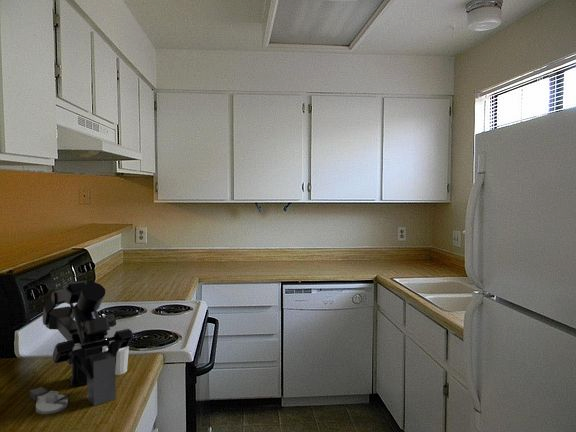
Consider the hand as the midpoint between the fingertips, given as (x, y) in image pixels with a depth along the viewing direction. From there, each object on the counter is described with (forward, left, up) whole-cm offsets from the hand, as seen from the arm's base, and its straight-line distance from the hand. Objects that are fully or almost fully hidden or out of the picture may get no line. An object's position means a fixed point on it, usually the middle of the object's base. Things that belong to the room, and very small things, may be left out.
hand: (102, 375), depth 109 cm
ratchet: (-5, -12, -7) cm, 15 cm away
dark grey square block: (-1, 0, -7) cm, 7 cm away
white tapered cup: (-17, +6, -7) cm, 20 cm away
